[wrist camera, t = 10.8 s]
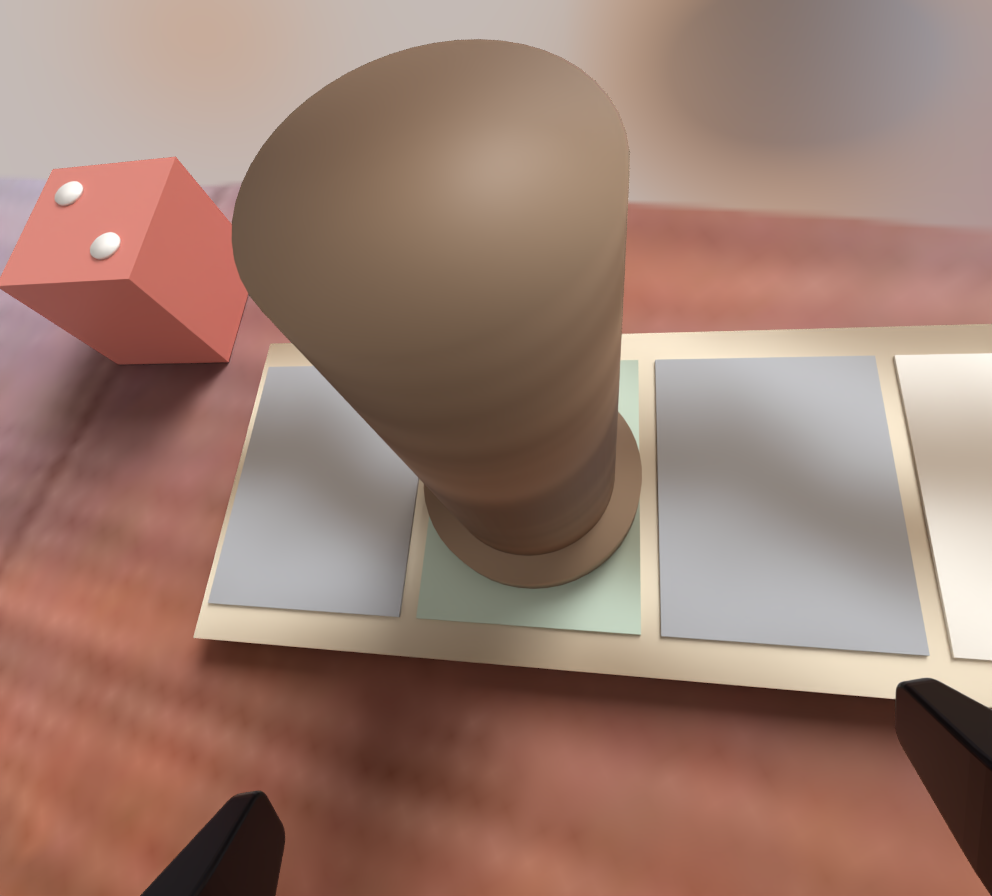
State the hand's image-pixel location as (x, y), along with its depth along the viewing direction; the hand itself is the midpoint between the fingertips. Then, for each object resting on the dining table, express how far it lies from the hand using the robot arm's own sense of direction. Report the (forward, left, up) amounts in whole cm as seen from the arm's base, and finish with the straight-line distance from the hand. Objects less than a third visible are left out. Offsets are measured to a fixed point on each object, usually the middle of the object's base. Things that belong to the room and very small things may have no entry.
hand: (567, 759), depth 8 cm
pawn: (+6, +2, -6) cm, 9 cm away
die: (+14, +16, -8) cm, 23 cm away
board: (+6, -2, -8) cm, 10 cm away
